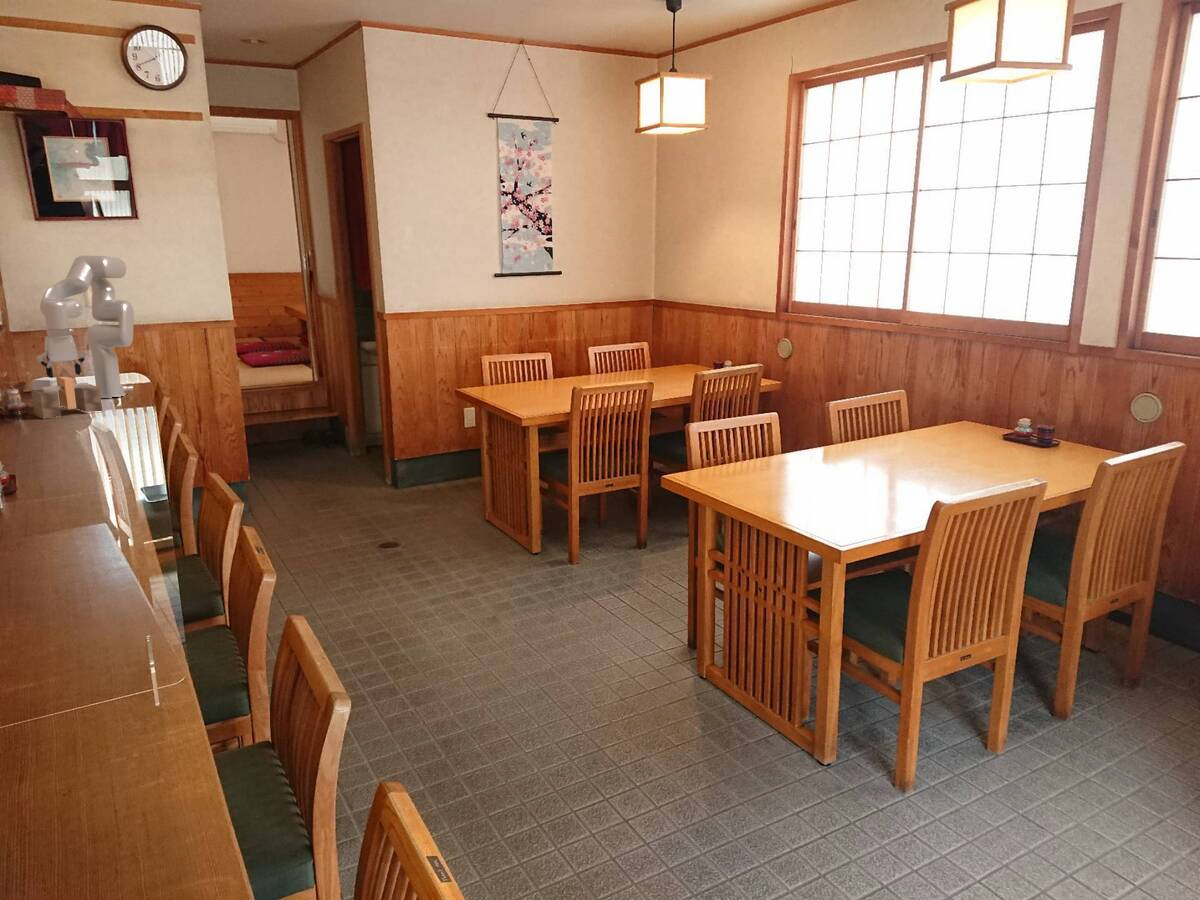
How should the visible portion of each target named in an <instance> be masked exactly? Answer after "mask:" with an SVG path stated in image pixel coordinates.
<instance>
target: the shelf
mask: <svg viewBox="0 0 1200 900" xmlns="http://www.w3.org/2000/svg"><path fill="white" fill-rule="evenodd" d="M88 384H89V387H83V388H74V392H75V400H76V408H77V409H80V410H83V411H102V412H103V404H102V399H101V395H100V388H99V387H96V385H93V384H90V383H88ZM30 392H31V400H32V407H33V413H34V416H35V415H36V416H35V417H38V418H40V417H41V419H42V418H43V420H46V419H45V418H50V419H52V418H51V417H56V416H61V417H62V414H61V412H62V411H61V408H60V405H59V397H58V392H56V391H46V392H43V391H42V389H39V390H33V389H31V390H30ZM76 408H75V409H76ZM77 409H76V410H77Z"/></svg>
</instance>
